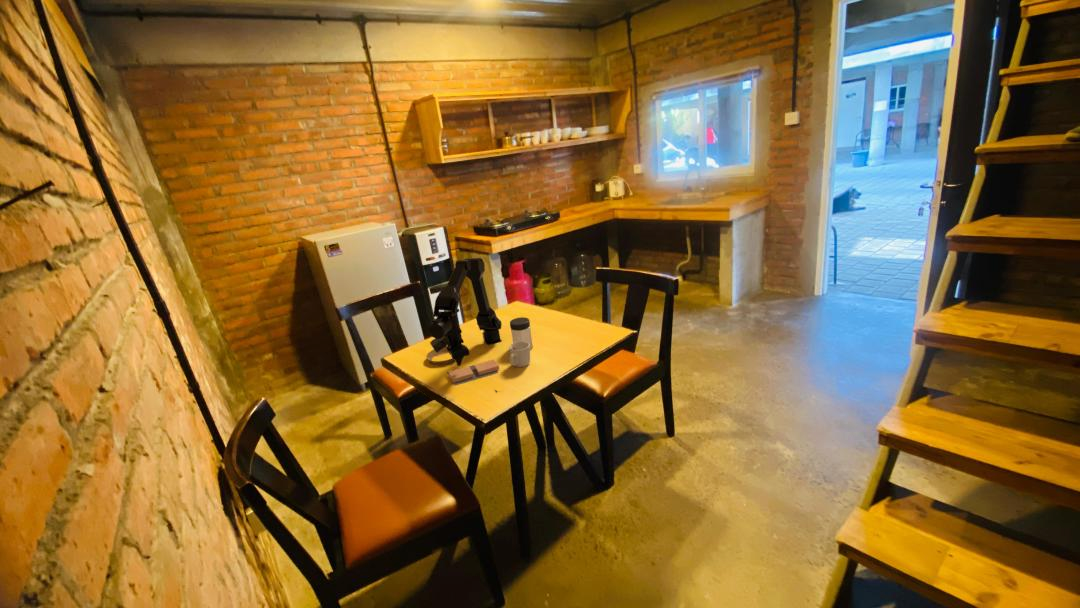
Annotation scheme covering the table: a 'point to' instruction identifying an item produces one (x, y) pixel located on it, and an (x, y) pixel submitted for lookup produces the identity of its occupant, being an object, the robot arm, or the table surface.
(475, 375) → the mat
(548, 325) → the table surface
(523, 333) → the jar
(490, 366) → the tile
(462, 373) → the tile
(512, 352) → the cup
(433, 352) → the brown ring
